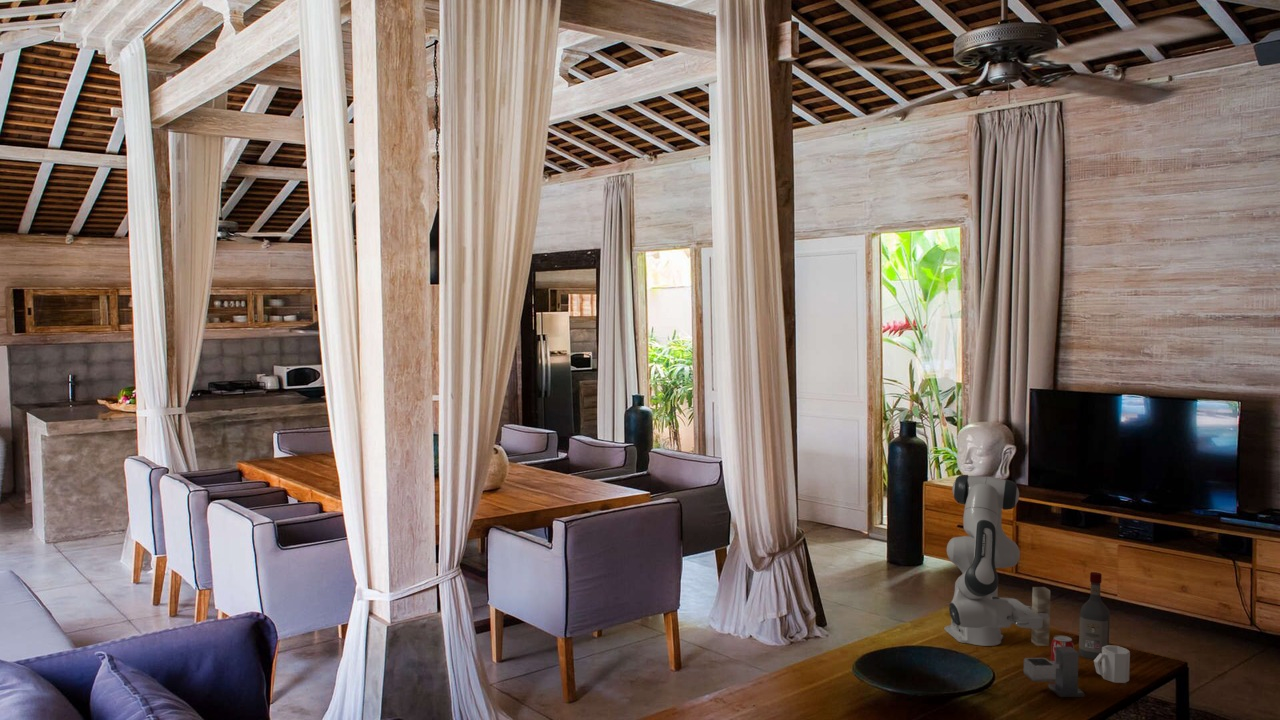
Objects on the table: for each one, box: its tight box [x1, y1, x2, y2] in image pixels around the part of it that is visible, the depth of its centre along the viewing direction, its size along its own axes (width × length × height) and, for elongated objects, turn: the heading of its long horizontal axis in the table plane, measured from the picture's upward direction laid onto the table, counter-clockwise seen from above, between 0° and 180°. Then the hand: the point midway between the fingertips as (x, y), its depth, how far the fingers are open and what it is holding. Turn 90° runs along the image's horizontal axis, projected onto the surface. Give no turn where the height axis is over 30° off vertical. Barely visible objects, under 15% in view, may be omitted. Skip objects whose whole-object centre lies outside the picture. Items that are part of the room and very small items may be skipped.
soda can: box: [1050, 634, 1075, 661], centre depth 324 cm, size 7×7×12 cm
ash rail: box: [1030, 586, 1051, 647], centre depth 306 cm, size 4×4×18 cm
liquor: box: [1078, 571, 1111, 661], centre depth 339 cm, size 9×9×30 cm
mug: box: [1093, 644, 1131, 684], centre depth 318 cm, size 12×9×10 cm
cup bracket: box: [1023, 647, 1085, 698], centre depth 307 cm, size 17×8×14 cm, turn 92°
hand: (1043, 613), depth 306 cm, fingers closed on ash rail, 4 cm apart
